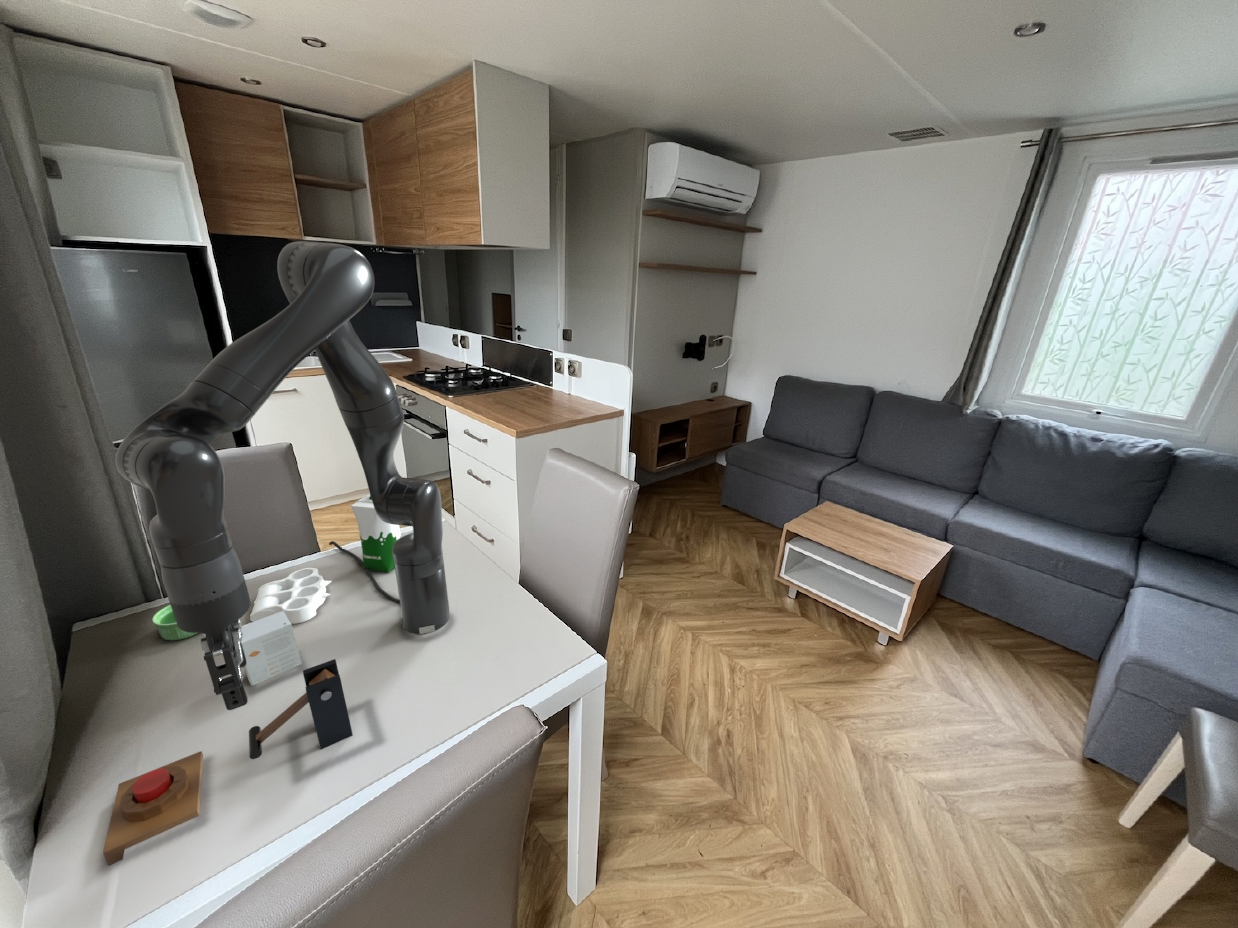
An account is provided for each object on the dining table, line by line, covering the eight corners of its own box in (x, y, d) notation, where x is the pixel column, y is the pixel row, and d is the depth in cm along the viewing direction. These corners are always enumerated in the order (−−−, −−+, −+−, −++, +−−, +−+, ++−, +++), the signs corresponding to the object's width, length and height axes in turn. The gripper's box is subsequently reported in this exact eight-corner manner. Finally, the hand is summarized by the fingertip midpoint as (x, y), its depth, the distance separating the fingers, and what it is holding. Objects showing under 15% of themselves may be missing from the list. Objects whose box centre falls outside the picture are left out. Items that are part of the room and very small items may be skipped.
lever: (257, 761, 70) (243, 755, 68) (256, 737, 74) (243, 730, 72) (339, 690, 74) (328, 682, 73) (334, 670, 78) (323, 662, 76)
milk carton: (410, 556, 131) (400, 487, 124) (389, 575, 122) (377, 501, 115) (379, 553, 132) (368, 484, 125) (357, 571, 124) (344, 498, 117)
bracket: (298, 778, 72) (279, 710, 68) (293, 735, 79) (275, 671, 74) (379, 740, 78) (367, 676, 74) (368, 703, 85) (356, 643, 81)
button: (138, 786, 67) (134, 777, 66) (173, 772, 69) (169, 763, 68) (134, 808, 64) (129, 799, 63) (170, 793, 66) (166, 783, 65)
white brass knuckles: (263, 588, 116) (334, 574, 122) (249, 635, 101) (330, 616, 107) (259, 576, 115) (331, 562, 121) (245, 621, 100) (328, 602, 106)
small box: (296, 654, 96) (284, 609, 92) (304, 669, 92) (292, 623, 88) (246, 675, 90) (231, 628, 87) (252, 692, 87) (237, 644, 83)
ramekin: (158, 649, 96) (151, 630, 95) (158, 626, 103) (152, 608, 101) (216, 630, 102) (210, 612, 100) (213, 609, 108) (207, 592, 107)
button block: (124, 795, 69) (114, 774, 68) (205, 761, 74) (198, 741, 73) (108, 865, 61) (97, 844, 59) (202, 822, 66) (193, 801, 64)
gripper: (244, 602, 59) (273, 707, 64) (242, 552, 70) (268, 645, 75) (161, 625, 55) (200, 735, 60) (173, 568, 65) (205, 666, 71)
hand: (237, 685), depth 68 cm, fingers open, 8 cm apart
